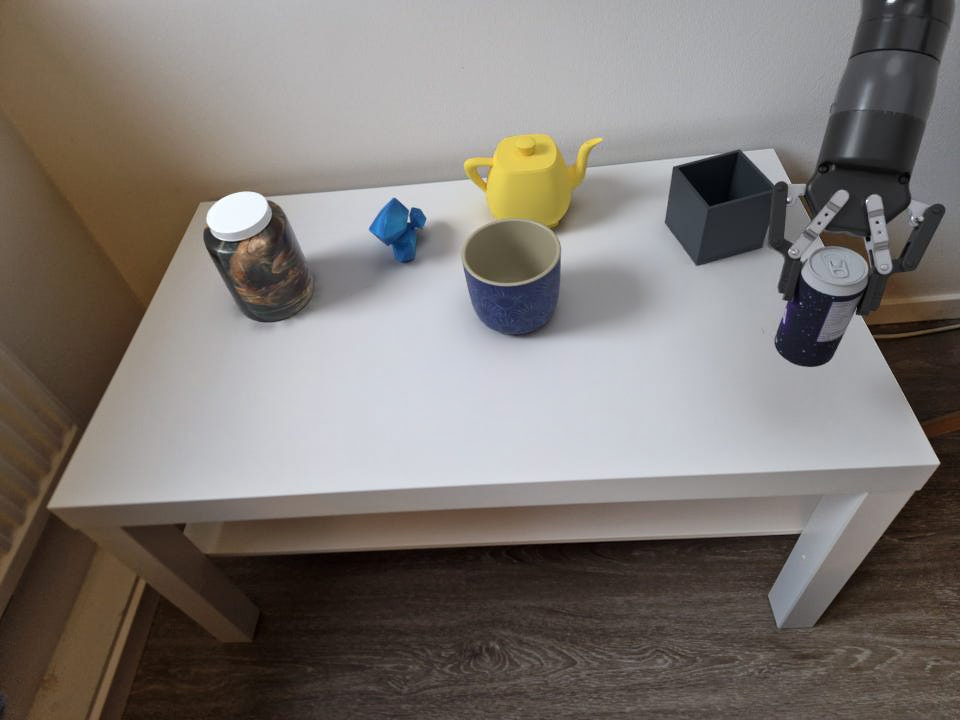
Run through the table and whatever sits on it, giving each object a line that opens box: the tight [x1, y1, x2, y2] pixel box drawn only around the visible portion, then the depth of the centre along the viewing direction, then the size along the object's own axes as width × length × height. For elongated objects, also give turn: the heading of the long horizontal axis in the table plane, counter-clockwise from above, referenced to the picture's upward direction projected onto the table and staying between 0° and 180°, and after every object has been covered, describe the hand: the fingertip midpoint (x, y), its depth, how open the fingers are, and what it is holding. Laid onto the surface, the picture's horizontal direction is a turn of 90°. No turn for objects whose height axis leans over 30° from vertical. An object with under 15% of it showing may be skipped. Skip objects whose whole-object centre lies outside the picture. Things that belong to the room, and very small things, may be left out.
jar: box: [202, 191, 315, 323], centre depth 92 cm, size 12×12×15 cm
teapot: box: [463, 133, 604, 229], centre depth 98 cm, size 13×20×12 cm
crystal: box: [368, 197, 427, 263], centre depth 97 cm, size 7×9×12 cm
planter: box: [460, 218, 562, 335], centre depth 86 cm, size 12×12×11 cm
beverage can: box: [773, 245, 869, 368], centre depth 63 cm, size 6×6×12 cm
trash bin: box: [664, 149, 775, 266], centre depth 92 cm, size 10×10×10 cm
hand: (823, 307), depth 60 cm, fingers closed on beverage can, 5 cm apart
